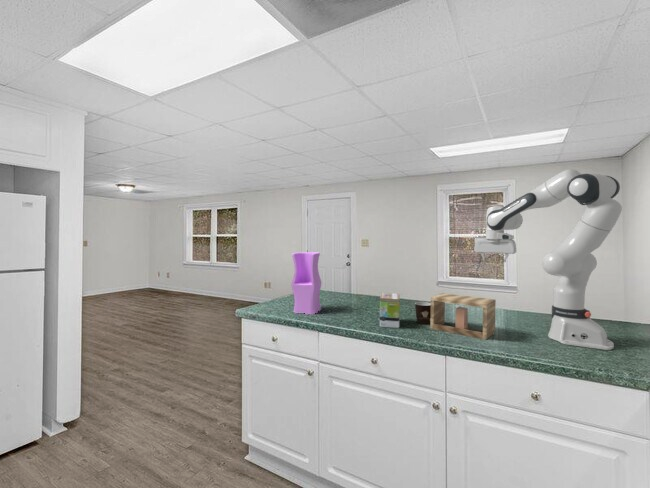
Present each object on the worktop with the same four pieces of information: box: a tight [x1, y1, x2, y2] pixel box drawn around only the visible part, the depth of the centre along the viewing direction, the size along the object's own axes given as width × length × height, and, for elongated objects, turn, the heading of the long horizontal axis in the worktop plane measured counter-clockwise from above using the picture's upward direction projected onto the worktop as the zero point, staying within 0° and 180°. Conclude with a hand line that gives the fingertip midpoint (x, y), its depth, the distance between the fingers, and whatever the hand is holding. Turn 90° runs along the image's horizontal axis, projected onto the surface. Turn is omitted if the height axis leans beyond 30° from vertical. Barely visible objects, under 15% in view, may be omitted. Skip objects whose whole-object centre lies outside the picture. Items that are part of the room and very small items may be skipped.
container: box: [291, 251, 322, 315], centre depth 197 cm, size 14×14×35 cm
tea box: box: [379, 292, 401, 329], centre depth 171 cm, size 15×10×15 cm
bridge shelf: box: [430, 292, 497, 340], centre depth 159 cm, size 26×14×16 cm, turn 49°
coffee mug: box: [414, 301, 431, 325], centre depth 172 cm, size 12×9×10 cm
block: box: [454, 306, 469, 330], centre depth 158 cm, size 4×5×11 cm
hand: (494, 261), depth 179 cm, fingers open, 8 cm apart
